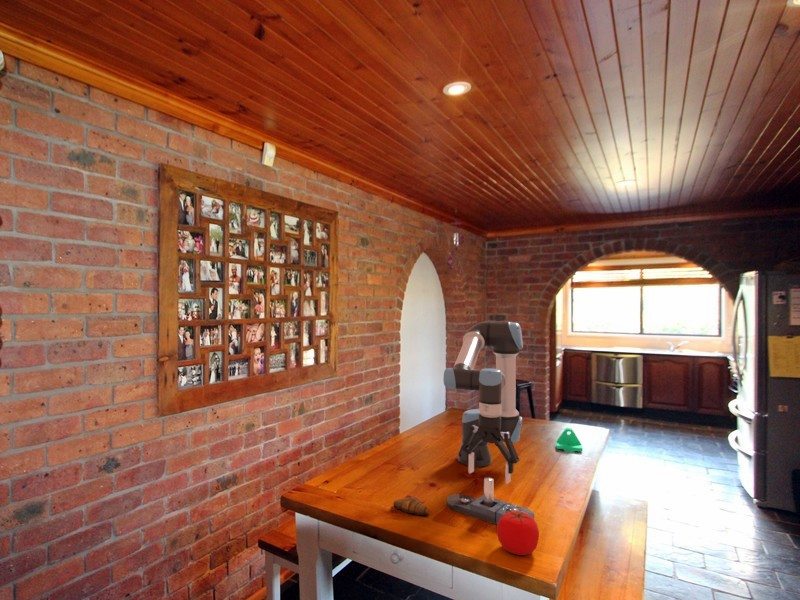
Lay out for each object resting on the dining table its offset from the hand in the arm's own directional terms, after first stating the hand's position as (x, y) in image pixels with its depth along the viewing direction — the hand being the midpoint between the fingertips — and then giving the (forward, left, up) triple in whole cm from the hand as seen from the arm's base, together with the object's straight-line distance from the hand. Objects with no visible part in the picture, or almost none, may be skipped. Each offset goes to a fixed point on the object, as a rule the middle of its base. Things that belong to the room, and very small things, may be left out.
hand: (489, 477), depth 146 cm
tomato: (+16, -14, -13) cm, 25 cm away
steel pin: (0, 0, -13) cm, 13 cm away
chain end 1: (-5, 0, -13) cm, 14 cm away
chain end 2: (+6, 0, -13) cm, 14 cm away
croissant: (-22, -15, -13) cm, 29 cm away
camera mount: (+1, +90, -13) cm, 91 cm away
